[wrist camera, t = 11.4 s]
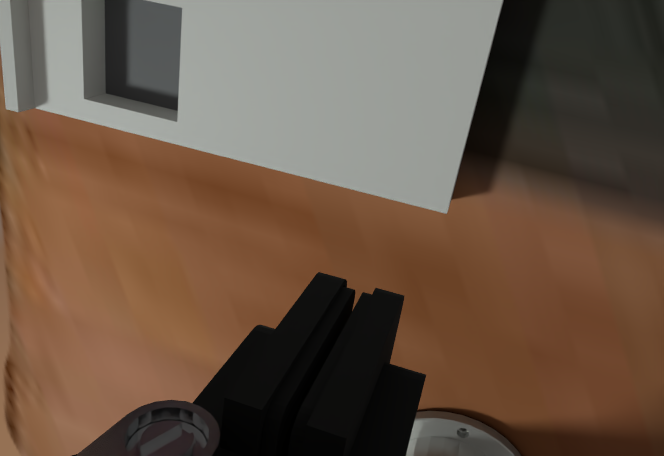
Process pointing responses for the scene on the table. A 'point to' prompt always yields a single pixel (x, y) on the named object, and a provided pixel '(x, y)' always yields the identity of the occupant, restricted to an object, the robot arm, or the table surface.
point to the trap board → (268, 80)
